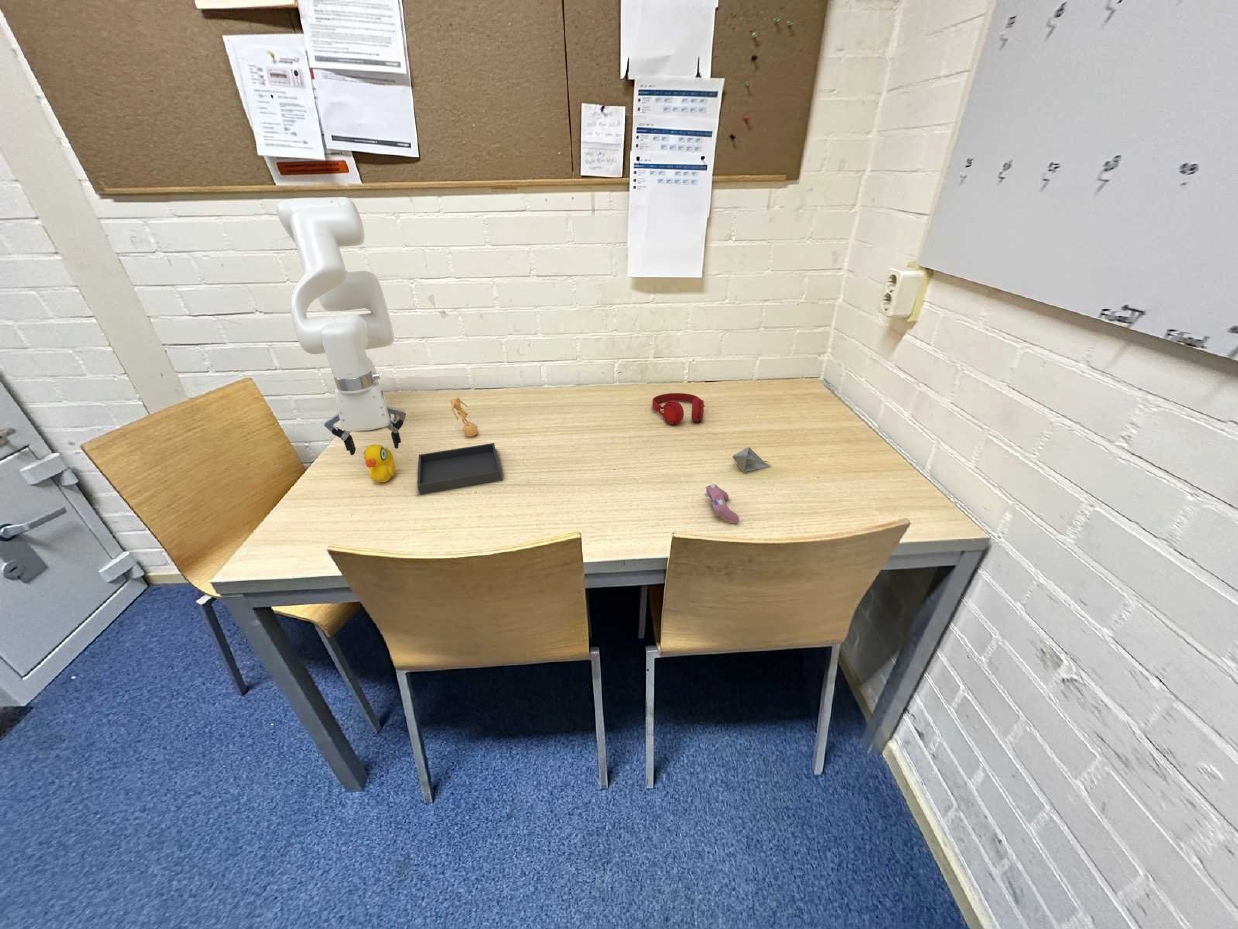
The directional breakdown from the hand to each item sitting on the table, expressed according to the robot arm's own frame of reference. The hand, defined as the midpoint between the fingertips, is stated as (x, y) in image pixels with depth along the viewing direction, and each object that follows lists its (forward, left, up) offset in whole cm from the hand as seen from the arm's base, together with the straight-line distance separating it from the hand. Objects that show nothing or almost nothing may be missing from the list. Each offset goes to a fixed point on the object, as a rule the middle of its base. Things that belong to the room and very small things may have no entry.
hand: (375, 449), depth 117 cm
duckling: (0, 0, -9) cm, 9 cm away
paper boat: (+26, +87, -9) cm, 91 cm away
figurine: (-17, +21, -9) cm, 29 cm away
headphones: (-11, +84, -9) cm, 85 cm away
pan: (+2, +18, -9) cm, 20 cm away
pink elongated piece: (+39, +72, -9) cm, 82 cm away
